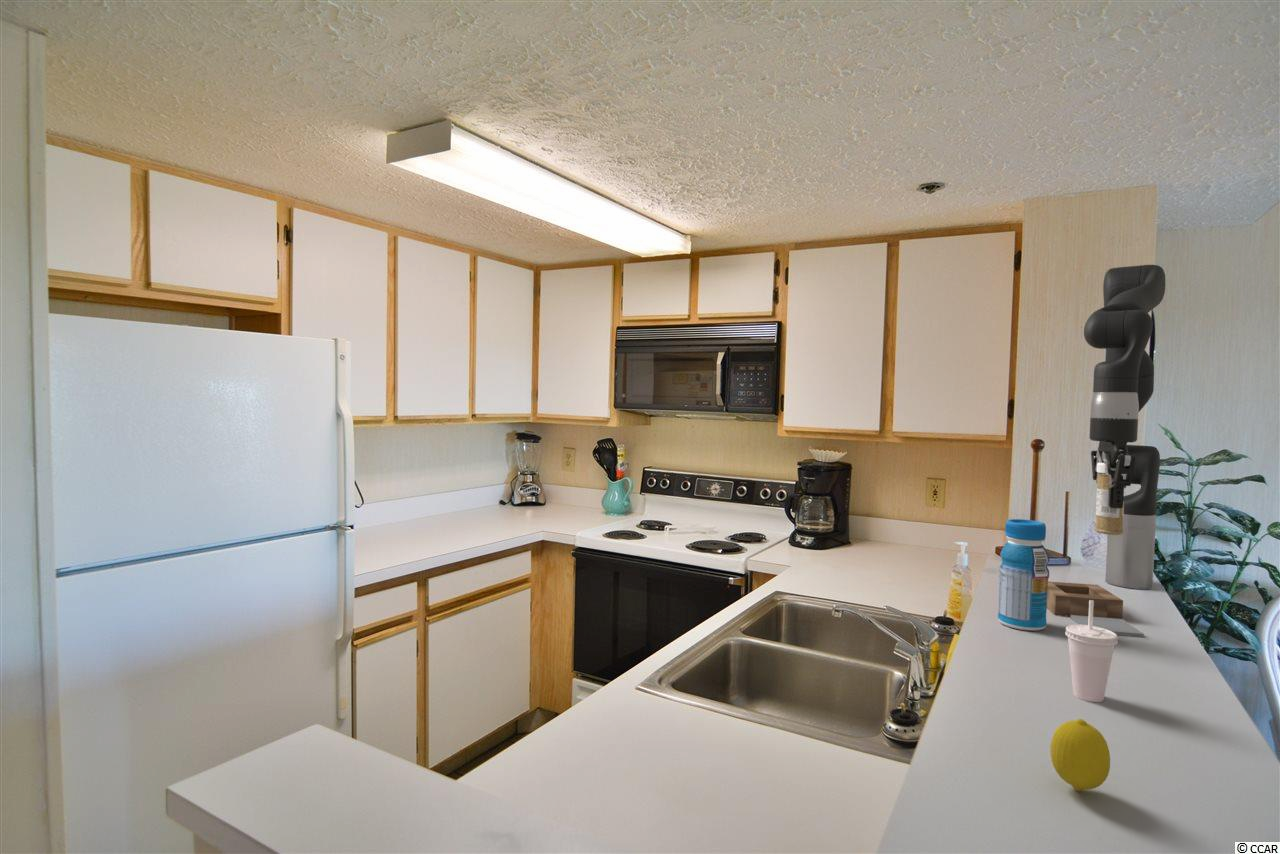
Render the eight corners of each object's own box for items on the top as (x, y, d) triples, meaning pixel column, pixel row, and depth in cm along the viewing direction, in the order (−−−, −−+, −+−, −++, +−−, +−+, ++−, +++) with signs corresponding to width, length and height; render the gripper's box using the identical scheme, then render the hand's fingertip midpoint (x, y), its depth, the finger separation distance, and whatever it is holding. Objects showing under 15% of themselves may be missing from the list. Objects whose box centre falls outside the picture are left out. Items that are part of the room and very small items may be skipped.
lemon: (1038, 777, 78) (1040, 708, 78) (1083, 776, 79) (1086, 707, 79) (1072, 806, 73) (1075, 732, 73) (1121, 804, 73) (1124, 731, 73)
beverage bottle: (999, 628, 131) (1003, 523, 130) (994, 615, 138) (998, 516, 138) (1050, 634, 127) (1055, 527, 127) (1043, 621, 135) (1047, 520, 134)
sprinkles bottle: (1127, 534, 131) (1130, 463, 131) (1116, 536, 129) (1119, 464, 128) (1100, 530, 135) (1103, 461, 135) (1089, 532, 132) (1092, 462, 132)
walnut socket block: (1035, 598, 151) (1036, 580, 151) (1097, 603, 148) (1097, 584, 148) (1054, 615, 139) (1055, 595, 139) (1122, 620, 137) (1123, 600, 136)
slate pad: (1070, 617, 138) (1070, 614, 138) (1121, 621, 136) (1121, 618, 136) (1088, 632, 129) (1088, 629, 129) (1143, 637, 127) (1143, 633, 127)
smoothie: (1107, 691, 103) (1111, 598, 102) (1121, 709, 97) (1126, 610, 96) (1057, 684, 105) (1061, 593, 104) (1068, 702, 99) (1073, 605, 98)
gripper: (1154, 417, 123) (1150, 512, 124) (1119, 416, 137) (1115, 502, 138) (1107, 416, 125) (1103, 510, 126) (1077, 415, 139) (1073, 500, 139)
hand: (1109, 505), depth 132 cm, fingers closed on sprinkles bottle, 4 cm apart
